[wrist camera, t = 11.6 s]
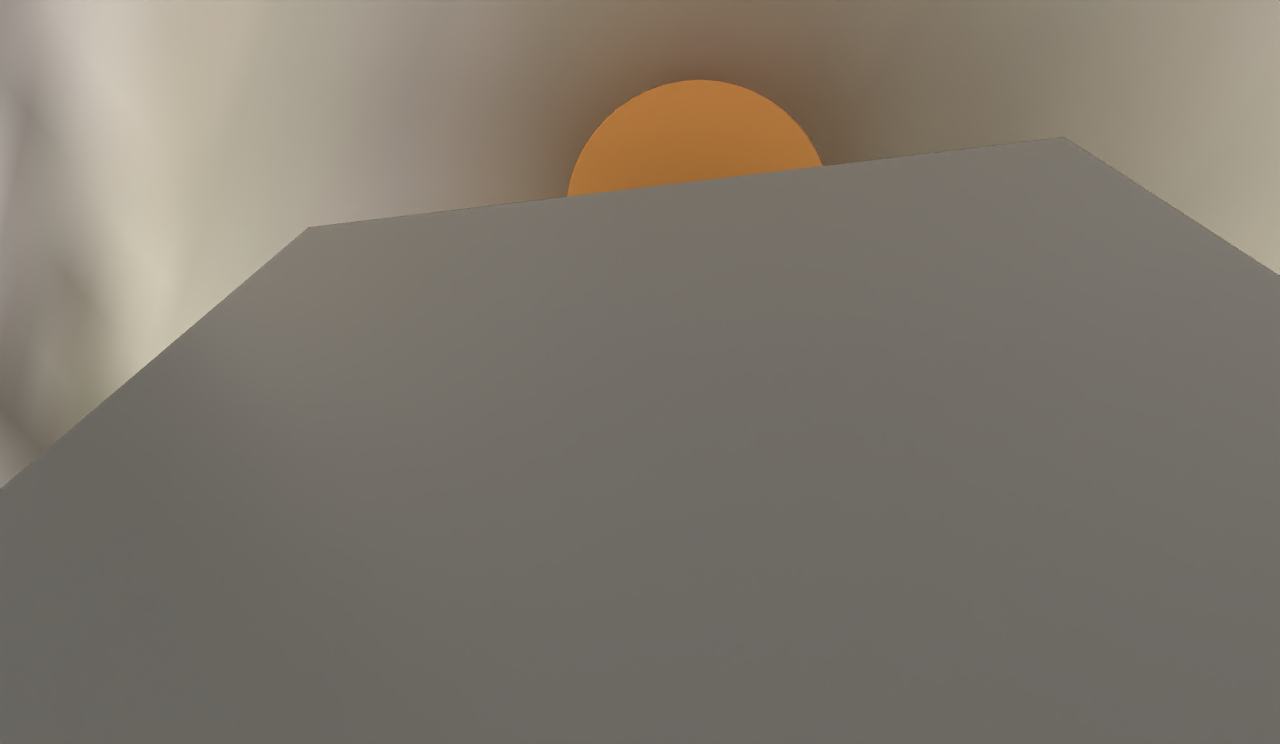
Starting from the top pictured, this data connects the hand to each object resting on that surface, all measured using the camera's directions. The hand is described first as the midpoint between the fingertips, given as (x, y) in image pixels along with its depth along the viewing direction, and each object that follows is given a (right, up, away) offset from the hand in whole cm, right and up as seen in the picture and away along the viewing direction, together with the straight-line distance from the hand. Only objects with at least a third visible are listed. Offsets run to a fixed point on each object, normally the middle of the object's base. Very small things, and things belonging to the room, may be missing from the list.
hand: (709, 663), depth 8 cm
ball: (0, +6, +9) cm, 10 cm away
